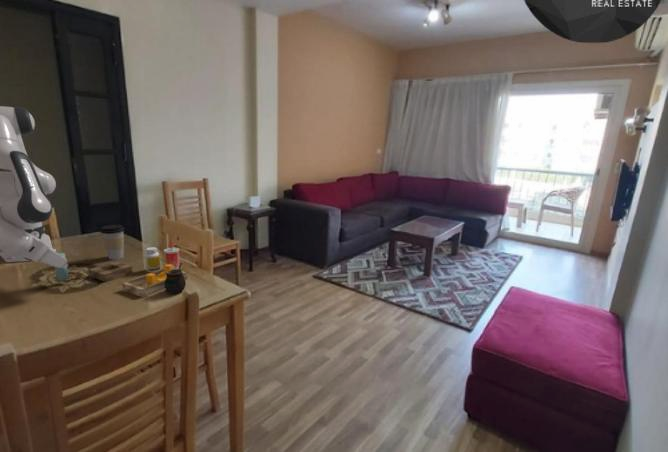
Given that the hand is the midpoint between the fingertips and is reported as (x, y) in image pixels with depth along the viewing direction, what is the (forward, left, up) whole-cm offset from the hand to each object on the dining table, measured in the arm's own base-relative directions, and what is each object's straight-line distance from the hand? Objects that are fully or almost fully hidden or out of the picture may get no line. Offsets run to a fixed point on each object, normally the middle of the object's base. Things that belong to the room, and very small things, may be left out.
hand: (62, 265), depth 132 cm
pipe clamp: (+31, +18, -8) cm, 36 cm away
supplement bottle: (+16, +26, -8) cm, 31 cm away
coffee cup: (-12, +27, -8) cm, 30 cm away
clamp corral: (+30, +17, -7) cm, 35 cm away
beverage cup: (+22, +31, -8) cm, 39 cm away
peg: (0, -1, -5) cm, 5 cm away
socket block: (+6, +14, -7) cm, 17 cm away
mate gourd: (+41, +17, -8) cm, 45 cm away
